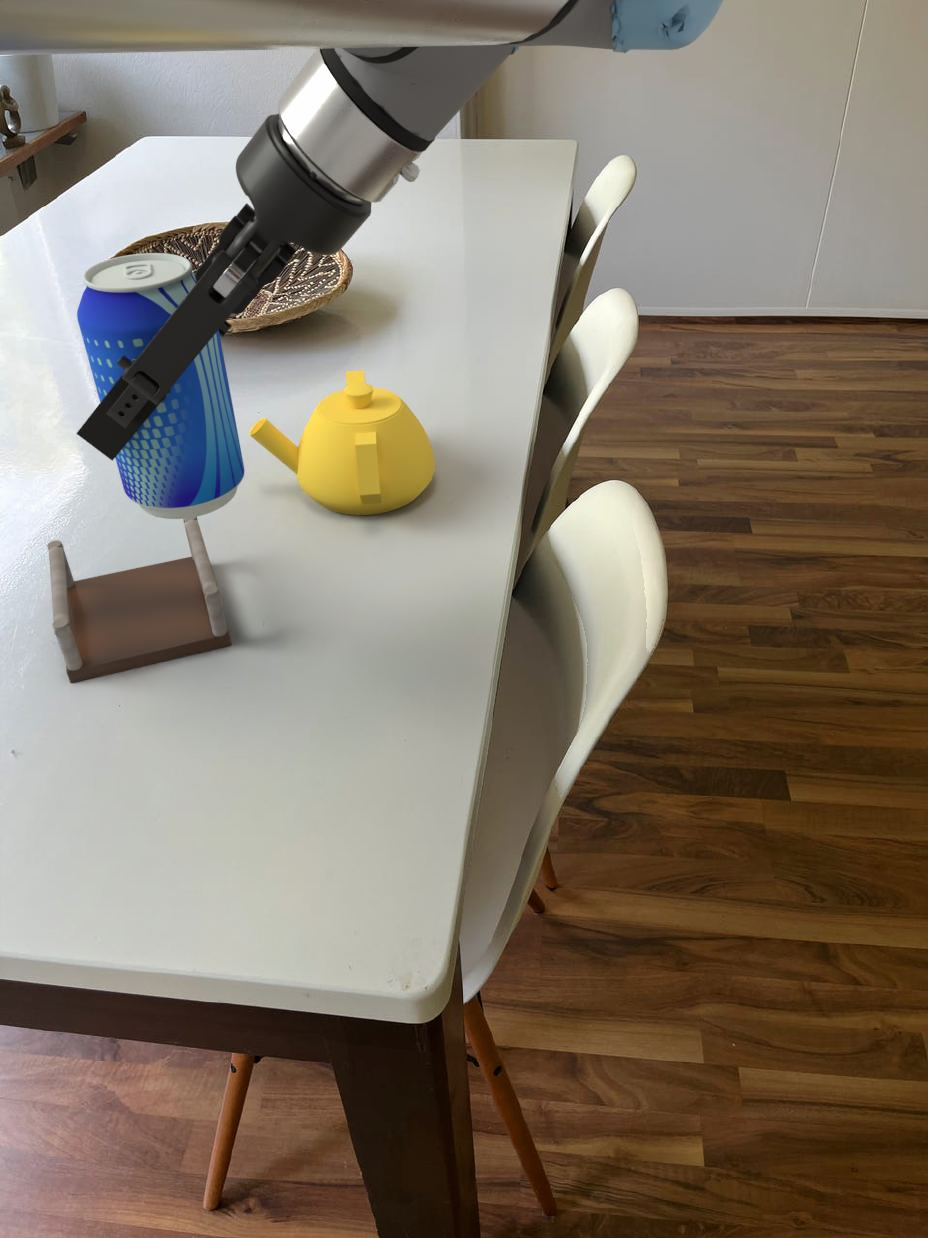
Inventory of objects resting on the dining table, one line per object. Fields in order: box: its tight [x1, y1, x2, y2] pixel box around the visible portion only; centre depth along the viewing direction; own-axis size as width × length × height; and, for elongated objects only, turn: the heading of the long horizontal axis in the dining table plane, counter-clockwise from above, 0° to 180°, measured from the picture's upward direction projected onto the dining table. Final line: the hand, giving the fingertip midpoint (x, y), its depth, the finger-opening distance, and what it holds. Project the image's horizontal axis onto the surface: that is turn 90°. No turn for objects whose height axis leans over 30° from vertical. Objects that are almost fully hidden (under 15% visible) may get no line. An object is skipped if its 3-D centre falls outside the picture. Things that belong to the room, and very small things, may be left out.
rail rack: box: [46, 516, 233, 684], centre depth 84 cm, size 13×13×6 cm
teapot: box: [248, 370, 436, 516], centre depth 100 cm, size 20×18×11 cm
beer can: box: [76, 252, 245, 520], centre depth 66 cm, size 8×8×16 cm
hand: (122, 412), depth 67 cm, fingers closed on beer can, 8 cm apart
